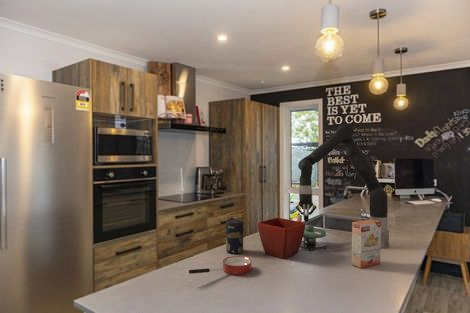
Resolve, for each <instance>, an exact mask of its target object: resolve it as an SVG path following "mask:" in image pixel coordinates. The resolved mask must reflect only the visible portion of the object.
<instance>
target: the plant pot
mask: <svg viewBox="0 0 470 313" xmlns="http://www.w3.org/2000/svg"><path fill="white" fill-rule="evenodd" d="M306 223H307V222H305V221H302V222H299V221H297V220H294V219H293V220H292V219H287V218H282V217H281V218H280V217H274V218H270V219H267V220H263V221H258V222H257V230H258V234H259V238H260V242H261V245H262V248H263V250H264V251H263V252H264V253H265V254H266V255H269V256H272V257H276V258H279V259H283V260H286V259H289V258H290V257H293V256H295V255H297V254H299V251H300V249H301V248H300V245H301V242H302V241H303V240H304V237H303V235H304V231H305V226H306V225H307V224H306Z"/></svg>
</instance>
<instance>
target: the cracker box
mask: <svg viewBox="0 0 470 313" xmlns="http://www.w3.org/2000/svg"><path fill="white" fill-rule="evenodd" d="M351 224H352V225H351V229H352V230H351V265H352V266H354V267H356V268H359V269H363V268H367V267H372V266H377V265H380V264H381V249H382V248H381V222H380V221H376V220H370V219H366V220H359V221H352V223H351Z"/></svg>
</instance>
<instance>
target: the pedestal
mask: <svg viewBox="0 0 470 313" xmlns="http://www.w3.org/2000/svg"><path fill="white" fill-rule="evenodd" d="M327 247H328V244H327V243H323V242H319V241H317V238H304V237H303V239H302V242H301V245H300V248H299V249H303V250H306V251H309V252H315V251H317V250H321V249H325V248H327Z"/></svg>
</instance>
